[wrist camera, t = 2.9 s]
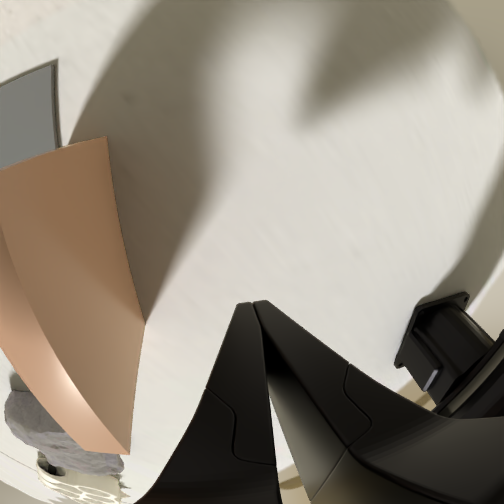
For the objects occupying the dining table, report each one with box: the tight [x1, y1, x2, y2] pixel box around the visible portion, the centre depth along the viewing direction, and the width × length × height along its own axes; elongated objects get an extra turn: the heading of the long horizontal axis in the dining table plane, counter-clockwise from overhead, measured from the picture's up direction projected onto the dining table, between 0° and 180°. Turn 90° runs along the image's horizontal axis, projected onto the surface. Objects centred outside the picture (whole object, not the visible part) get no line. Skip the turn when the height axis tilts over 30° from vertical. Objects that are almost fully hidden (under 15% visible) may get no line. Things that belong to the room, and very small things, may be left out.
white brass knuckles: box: [36, 458, 131, 504], centre depth 25 cm, size 3×18×15 cm
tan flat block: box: [0, 136, 146, 455], centre depth 9 cm, size 2×10×8 cm, turn 1°
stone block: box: [4, 390, 124, 476], centre depth 18 cm, size 12×5×10 cm
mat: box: [0, 65, 58, 168], centre depth 11 cm, size 10×18×1 cm, turn 1°
